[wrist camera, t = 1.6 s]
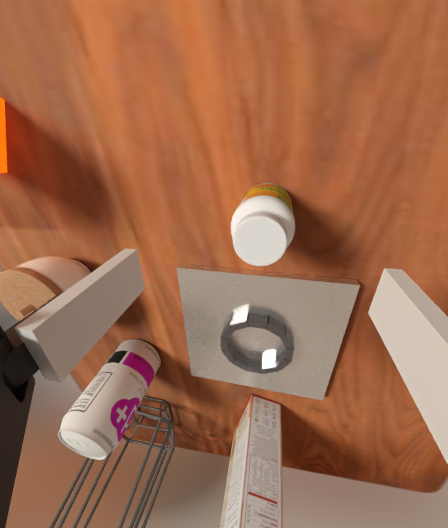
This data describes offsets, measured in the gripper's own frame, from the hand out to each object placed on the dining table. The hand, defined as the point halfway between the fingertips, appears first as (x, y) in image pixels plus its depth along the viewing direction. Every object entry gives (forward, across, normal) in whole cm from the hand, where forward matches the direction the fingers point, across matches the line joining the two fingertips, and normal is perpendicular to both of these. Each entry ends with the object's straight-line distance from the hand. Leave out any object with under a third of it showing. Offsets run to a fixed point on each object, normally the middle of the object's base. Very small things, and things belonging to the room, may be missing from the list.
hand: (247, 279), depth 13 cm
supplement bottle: (+15, 0, 0) cm, 15 cm away
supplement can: (+15, -21, -28) cm, 38 cm away
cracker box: (+15, +1, -41) cm, 43 cm away
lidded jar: (+15, -29, -12) cm, 34 cm away
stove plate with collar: (+15, 0, -19) cm, 24 cm away
